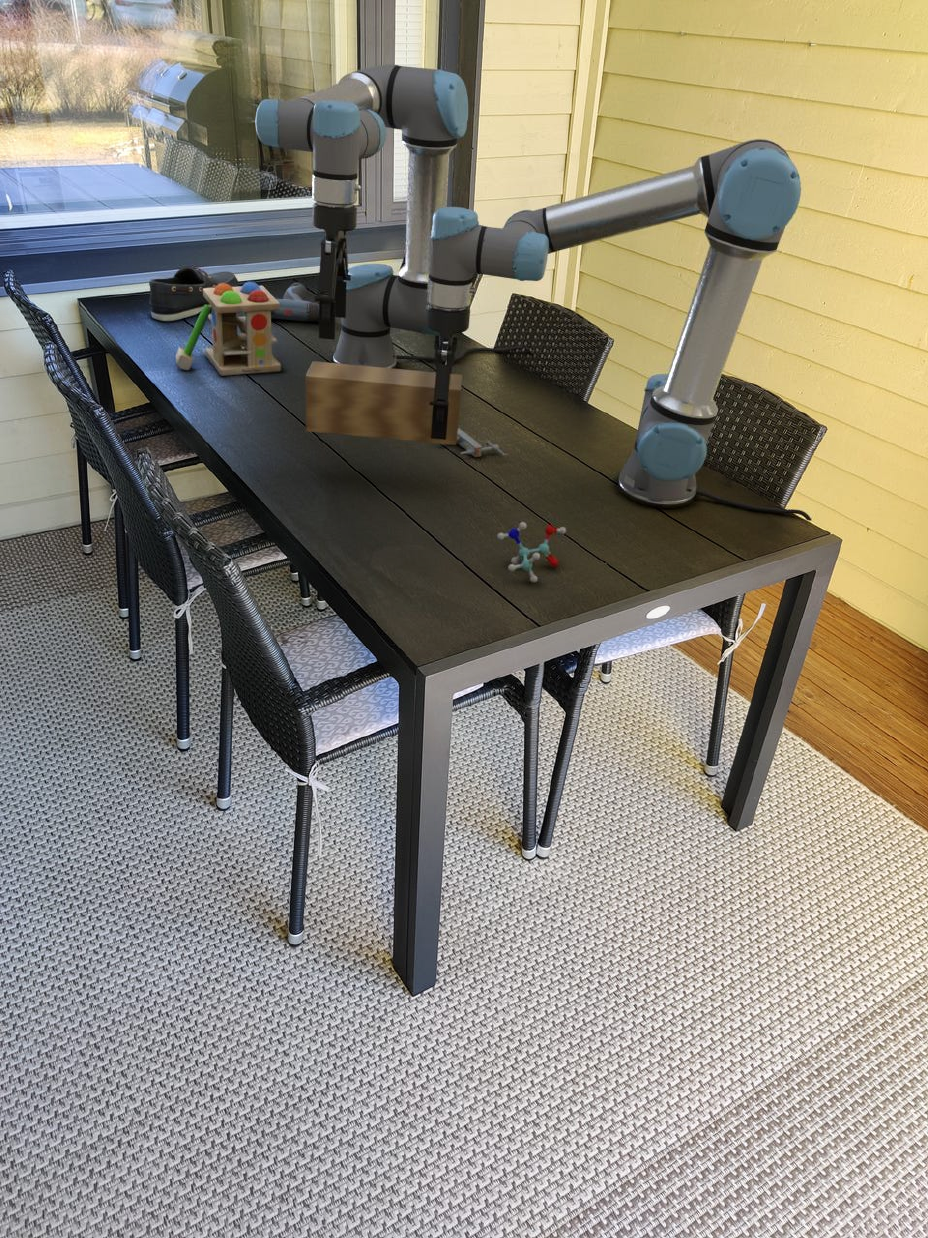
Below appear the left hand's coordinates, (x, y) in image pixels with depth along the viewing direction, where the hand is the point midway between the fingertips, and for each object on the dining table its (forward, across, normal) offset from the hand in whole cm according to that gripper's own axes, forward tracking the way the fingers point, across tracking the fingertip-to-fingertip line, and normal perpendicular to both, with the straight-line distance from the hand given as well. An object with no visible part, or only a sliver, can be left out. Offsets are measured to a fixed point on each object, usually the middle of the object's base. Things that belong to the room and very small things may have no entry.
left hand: (332, 327), depth 179 cm
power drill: (+24, +90, +21) cm, 95 cm away
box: (+16, -7, -11) cm, 20 cm away
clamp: (+26, +11, -27) cm, 39 cm away
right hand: (+14, -7, -21) cm, 27 cm away
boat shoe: (+25, +87, +50) cm, 103 cm away
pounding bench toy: (+25, +45, +32) cm, 61 cm away
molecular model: (+27, -34, -38) cm, 58 cm away
